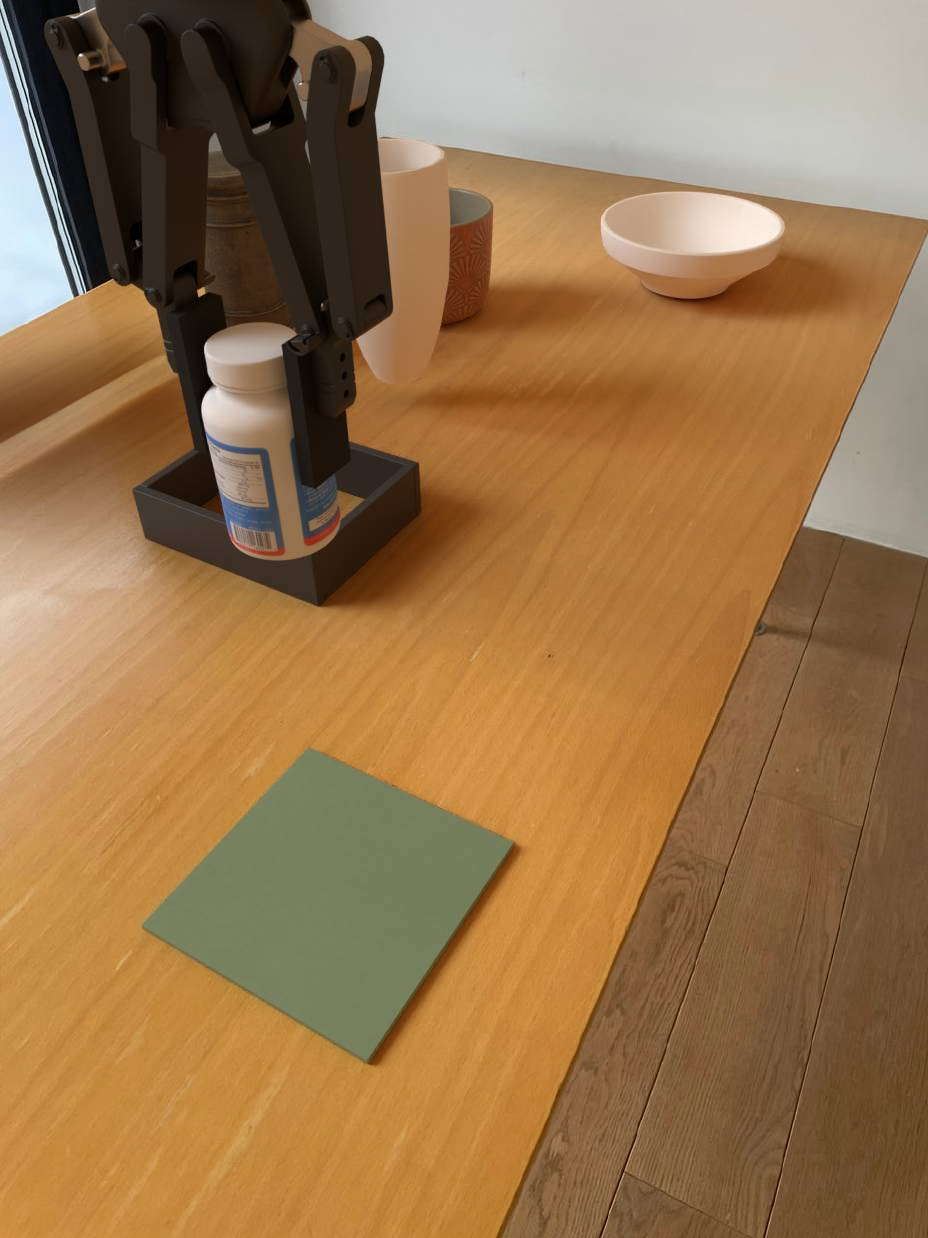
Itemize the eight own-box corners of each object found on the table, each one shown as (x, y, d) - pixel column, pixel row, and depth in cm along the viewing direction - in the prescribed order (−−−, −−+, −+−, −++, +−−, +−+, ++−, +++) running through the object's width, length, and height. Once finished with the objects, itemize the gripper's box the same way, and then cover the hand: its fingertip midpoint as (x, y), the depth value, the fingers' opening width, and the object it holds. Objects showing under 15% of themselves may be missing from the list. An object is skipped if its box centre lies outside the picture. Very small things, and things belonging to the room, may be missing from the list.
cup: (380, 441, 88) (360, 184, 74) (325, 394, 95) (296, 151, 81) (479, 408, 92) (477, 159, 78) (419, 365, 99) (408, 129, 85)
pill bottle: (324, 490, 51) (301, 305, 45) (355, 548, 48) (335, 355, 41) (217, 514, 50) (178, 326, 44) (240, 575, 46) (201, 380, 40)
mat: (142, 929, 51) (140, 924, 51) (309, 751, 61) (308, 746, 60) (368, 1065, 46) (367, 1060, 46) (514, 846, 55) (514, 842, 55)
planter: (376, 336, 104) (368, 229, 97) (380, 288, 114) (372, 187, 107) (496, 332, 104) (496, 225, 97) (489, 285, 114) (490, 184, 107)
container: (285, 371, 98) (258, 178, 87) (197, 366, 99) (158, 175, 88) (310, 332, 105) (288, 148, 93) (227, 327, 106) (195, 145, 95)
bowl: (560, 284, 114) (563, 219, 109) (672, 240, 124) (679, 179, 119) (698, 339, 103) (708, 269, 98) (809, 286, 112) (823, 221, 108)
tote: (144, 538, 77) (131, 489, 75) (258, 457, 86) (250, 410, 83) (318, 606, 71) (311, 555, 68) (422, 511, 80) (419, 462, 77)
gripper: (488, -209, 30) (489, 467, 45) (48, -204, 37) (176, 377, 52) (340, -201, 25) (397, 556, 40) (-133, -197, 32) (65, 442, 47)
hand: (271, 454), depth 46 cm, fingers closed on pill bottle, 5 cm apart
